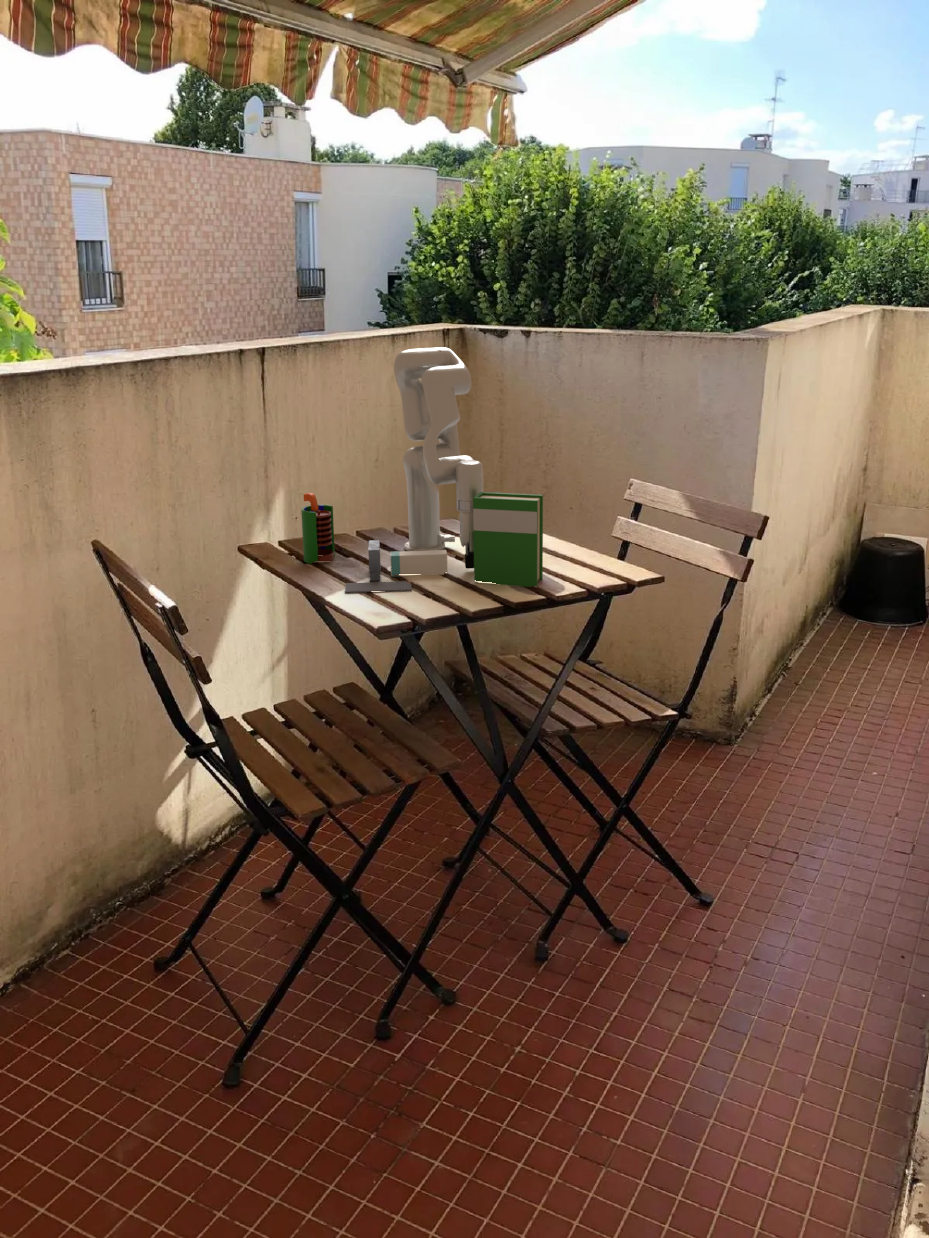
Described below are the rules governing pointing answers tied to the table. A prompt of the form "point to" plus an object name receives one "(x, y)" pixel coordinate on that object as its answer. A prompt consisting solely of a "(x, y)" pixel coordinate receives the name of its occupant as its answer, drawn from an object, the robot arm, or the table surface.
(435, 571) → the white and teal box
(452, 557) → the table surface
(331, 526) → the motor
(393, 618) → the table surface
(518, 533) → the hardback book
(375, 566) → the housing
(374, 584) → the mat
